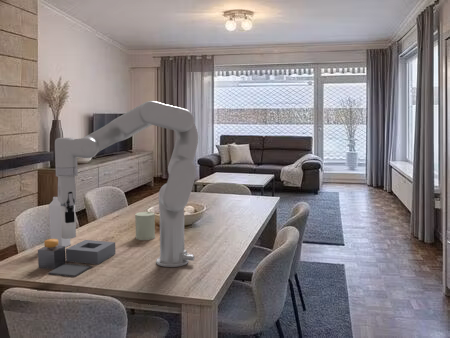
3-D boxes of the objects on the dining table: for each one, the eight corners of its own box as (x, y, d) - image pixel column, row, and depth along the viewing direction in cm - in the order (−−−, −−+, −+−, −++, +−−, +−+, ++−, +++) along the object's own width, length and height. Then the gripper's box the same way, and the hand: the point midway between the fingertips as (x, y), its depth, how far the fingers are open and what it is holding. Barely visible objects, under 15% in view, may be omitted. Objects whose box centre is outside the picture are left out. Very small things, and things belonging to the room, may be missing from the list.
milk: (59, 243, 206) (57, 195, 203) (70, 245, 204) (69, 196, 201) (50, 247, 200) (48, 197, 197) (61, 248, 198) (60, 198, 196)
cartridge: (74, 234, 172) (73, 197, 170) (77, 237, 168) (76, 200, 166) (60, 236, 169) (59, 199, 168) (63, 239, 165) (61, 201, 163)
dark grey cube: (65, 263, 178) (65, 246, 177) (54, 269, 171) (53, 251, 170) (50, 262, 180) (49, 244, 179) (38, 267, 173) (37, 249, 172)
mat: (91, 267, 174) (91, 265, 174) (75, 277, 163) (75, 275, 163) (66, 264, 177) (66, 263, 177) (48, 274, 166) (48, 272, 166)
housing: (115, 253, 191) (115, 242, 190) (97, 264, 177) (97, 251, 177) (85, 251, 194) (85, 239, 194) (66, 261, 181) (65, 249, 180)
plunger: (61, 260, 177) (60, 239, 176) (53, 264, 172) (52, 242, 171) (50, 259, 178) (49, 238, 177) (42, 263, 174) (41, 241, 173)
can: (159, 237, 217) (158, 212, 216) (145, 241, 210) (144, 215, 208) (145, 234, 223) (145, 209, 221) (131, 238, 215) (130, 213, 214)
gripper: (51, 169, 171) (53, 217, 173) (60, 175, 156) (62, 227, 159) (72, 168, 175) (73, 215, 177) (82, 173, 160) (84, 224, 162)
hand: (68, 220), depth 168 cm, fingers closed on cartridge, 5 cm apart
